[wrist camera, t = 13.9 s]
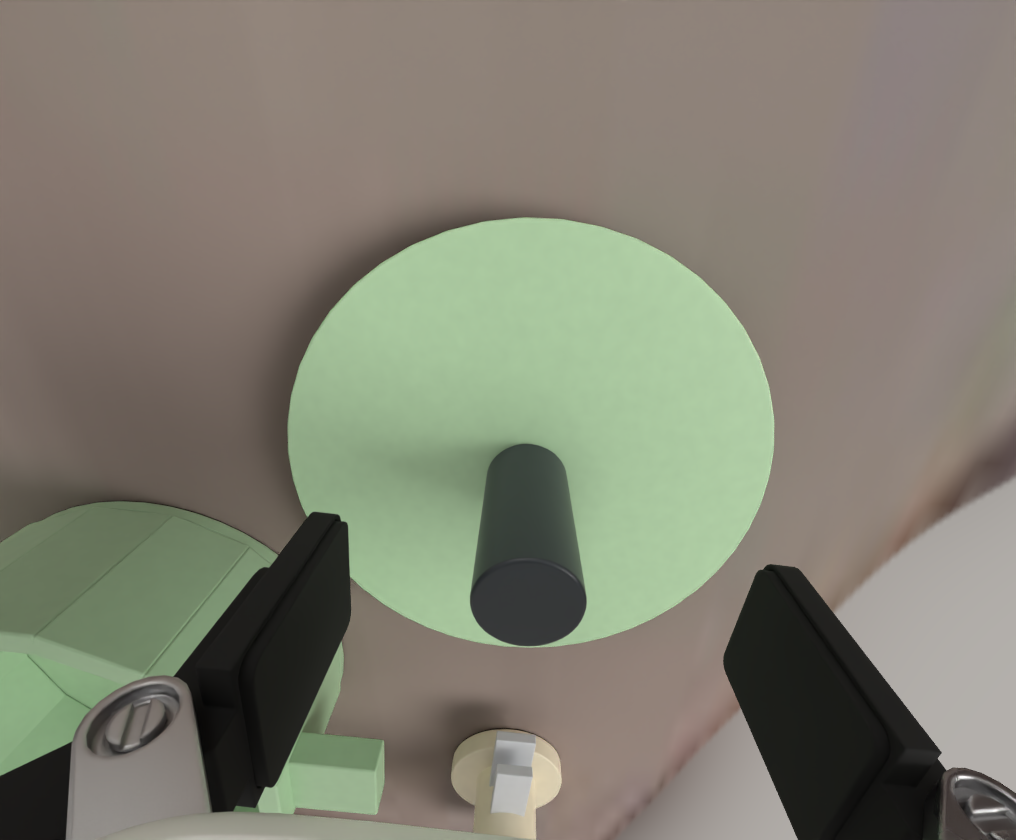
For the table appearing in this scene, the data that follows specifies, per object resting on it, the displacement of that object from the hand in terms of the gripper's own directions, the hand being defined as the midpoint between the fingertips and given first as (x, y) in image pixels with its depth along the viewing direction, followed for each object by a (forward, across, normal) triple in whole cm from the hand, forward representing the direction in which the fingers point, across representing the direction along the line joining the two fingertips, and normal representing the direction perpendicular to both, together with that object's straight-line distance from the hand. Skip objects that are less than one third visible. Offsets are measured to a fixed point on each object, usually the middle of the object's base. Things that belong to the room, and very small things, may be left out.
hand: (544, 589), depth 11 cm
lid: (+4, 0, -1) cm, 5 cm away
